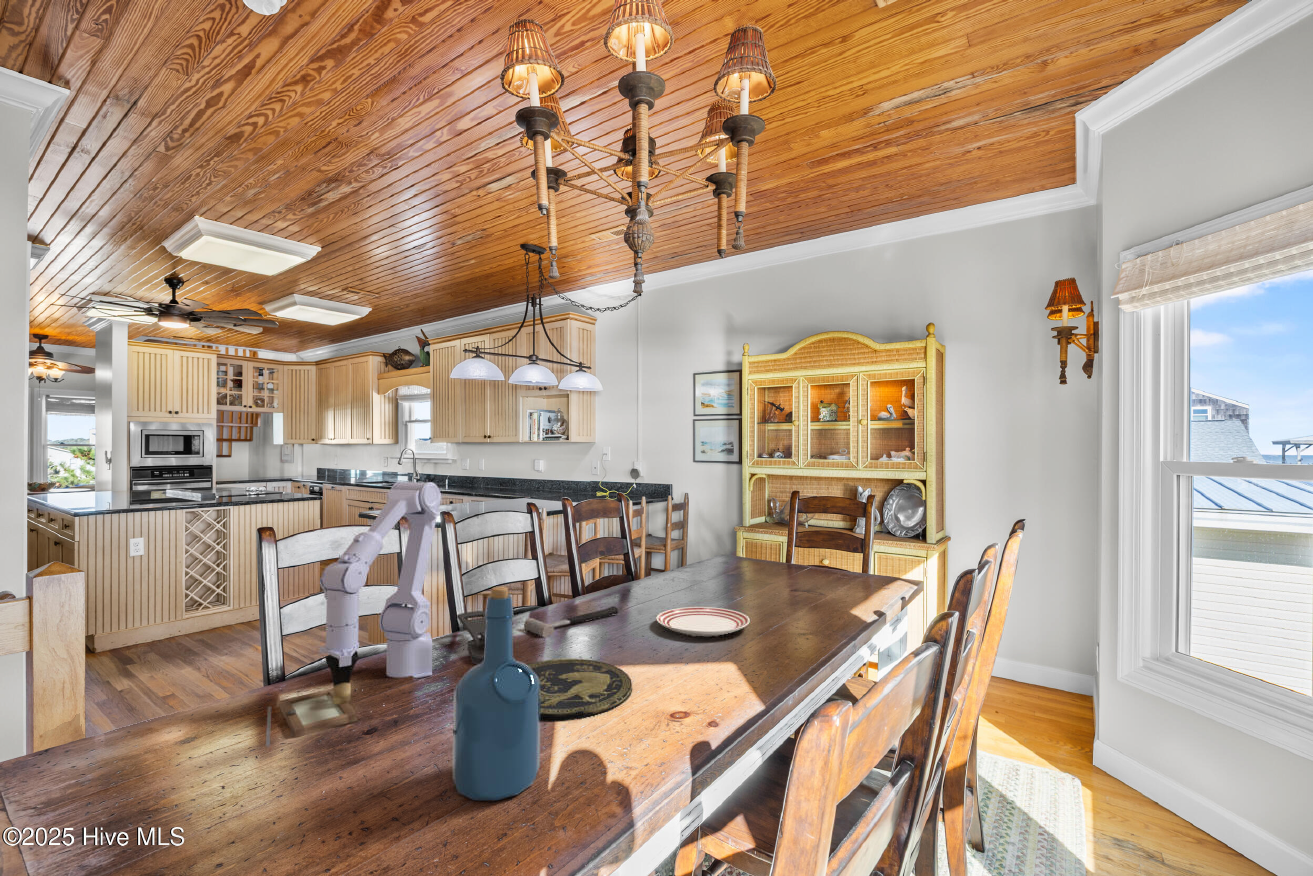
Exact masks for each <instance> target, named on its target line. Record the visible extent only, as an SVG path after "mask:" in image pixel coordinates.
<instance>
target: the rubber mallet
mask: <svg viewBox="0 0 1313 876" xmlns="http://www.w3.org/2000/svg"><path fill="white" fill-rule="evenodd" d="M617 613H618V614H619V609H618V608H617V607H616V606H615V605H614V606H611V607H608V608H605V609H600V610H597V611H592V612H589V613H584V614H580V615H576V616H573V617H569V618H566V619H564V620H558V621H555V622H554V621H553V622H549V623H546V622H543V621H540V620H538V619H535V618H532V617H529V618H527V619H526V620H525V621H524V623H523V628H524V630H525V629H527V630H529V631H531V632H530V633H532V632H534V633H536V634H538V635H537V636H539V635H541V636H542V637H541V636H540V637H541V638H543V637H546V638H548V637H547V636H549V635H553V636H554V633H555V628H556V627H560V626H565V625H573V623H575V624H579V623H578V622H580V623H583V622H582V621H585V622H587V621H586V620H590V619H594V618H599V617H603V618H605V617H604V616H609V615H612V614H617ZM609 617H610V616H609ZM599 619H600V618H599ZM594 620H595V619H594ZM590 621H591V620H590ZM527 630H526V631H527ZM529 631H528V632H529ZM534 633H533V634H534ZM536 634H535V635H536Z"/></svg>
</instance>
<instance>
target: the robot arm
mask: <svg viewBox="0 0 1313 876" xmlns="http://www.w3.org/2000/svg"><path fill="white" fill-rule="evenodd" d="M441 499H442V494H441V491H440V489H439V487H438V486H437V485H436V483H435V482H431V481H429V482H428V481H427V482H415V481H414V482H413V481H412V482H411V481H409V482H408V481H402V480H401V481H400V480H398V481H396V482H395V483H393V485H392V486H391V488H390V490H388V491H387V494H386V503H385V504H384V505H383V506H382V509H381V510H380V512H379V514H377V516H376V518H375V519H374V521H373V522H372V524H371V526H370V527H369V529H368V530H367V531H363V532H359V533H358V534H356V535H355V536H354V537H353V539H352V541H351V543H350V544H349V545H348V547H347V548H346V550H345V551H343V553H342V555H340V557H339V558H338V559H337V561H334V562H333V563H330V564H328V565H327V566H326V567H325V568H324V570H323V571H322V572H321V573H322V574H321V578H319V580H318V581H319V585H320V588H321V589H322V590H323V593H324V595H323V597H324V598H323V599H325V600H326V614H325V615H326V616H325V618H326V619H325V620H326V621H325V622H326V624H325V626H326V627H325V630H326V631H325V645H324V646H323V645H322V646H319V647H318V653H320V654H325V653H326V654H328V655H326V656H325V662H326V664H327V665H326V666H328V668H329V670H330V673H331V676H332V682H333V687H334V686H335V685H337V684H340V683H350V681H351V678H352V673H353V670H354V668H355V666H356V663H357V662H358V659H359V653H358V650H359V647H360V642H359V617H360V615H359V612H360V590H361V589H362V588H363V587H365V584H366V582H367V578H368V577H367V576H368V573H369V572H370V571H369V570H370V567H371V565H372V564H373V562H374V561H375V560H376V558H377V557H378V556H379V554H380V553H381V551H383V549H384V542H383V539H384V538H385V537H386V536H387V535H388V533H389V532H390V531H391V530H392V529H393V528H394V526H396V524H397V523H398V522H399V521H400V519H401V518H403V516H404V517H405V518H407V520H408V521H409V523H410V527H409V533H408V537H407V542H406V547H405V551H404V556H403V560H402V566H401V569H400V570H401V571H400V575H399V581H398V583H397V584H398V585H397V590H396V591H395V592H394V593H393V594H391V595H390V596H389V597H388V598H386V600H385V605H384V607H383V609H382V611H381V613H380V615H379V618H378V619H379V620H378V626H379V629H380V631H382V632H383V633H384V637H385V638H386V673H385V674H386V676H387V677H389V678H390V677H391V678H396V679H397V678H406V677H410V676H411V677H413V678H415V679H420V678H424V677H430V676H432V675H433V671H432V670H433V667H432V665H433V640H432V635H431V633H430V632H426V631H427V630H428V628H429V626H430V621H431V616H430V615H431V614H430V607H431V603H430V601H429V599H427V598H426V597H425V595H423V588H424V583H425V579H426V573H427V568H428V564H429V558H430V553H431V548H432V543H433V537H434V532H435V527H436V523H437V519H438V513H439V509H440V504H441ZM404 605H409V606H404ZM350 684H351V683H350Z"/></svg>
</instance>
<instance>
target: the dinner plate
mask: <svg viewBox="0 0 1313 876" xmlns="http://www.w3.org/2000/svg"><path fill="white" fill-rule="evenodd" d="M655 620H656V621H657V623H658V624H659V625H660V626H662V627H664V628H666V629H668V630H670V631H673V632H676V633H678V632H679V633H678V634H680V633H683V634H682V635H684V634H688V635H695V636H694V637H696V636H703V637H702V638H712V637H711V636H715V637H720V636H719V635H722V636H725V635H724V634H726V635H729V634H731V633H734V632H738V631H739V630H742V629H744V628H745V627H747V626H748V625H749V624H750V622H751V620H750V618H749V616H748V615H746V614H745V613H742V612H740V611H736V610H732V609H728V608H720V607H710V606H709V607H708V606H689V607H688V606H687V607H679V608H673V609H668V610H664V611H662V612H659V614H657V616H656V617H655ZM728 633H729V634H728ZM688 635H687V636H688Z"/></svg>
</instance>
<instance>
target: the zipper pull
mask: <svg viewBox="0 0 1313 876" xmlns="http://www.w3.org/2000/svg"><path fill="white" fill-rule="evenodd" d="M485 614H486V610H477V611H476V610H475V611H469V612H461V613H459V614H457V619H458V621H459V622H460V623H461V624H462V626H463V627H464V628H465V630H466V631H467V632H468V634H469V635H470V636H471V638H472V639H471V640H468V641H467V652H468V651H469V652H468V654H470V655H469V657H470V656H471V658H470V660H472V661H471V663H472V664H474V663H475V665H478V664H480V663H482V661H483V660H484V651H485V633H486V619H485V616H486V615H485ZM479 636H480V637H479Z"/></svg>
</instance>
